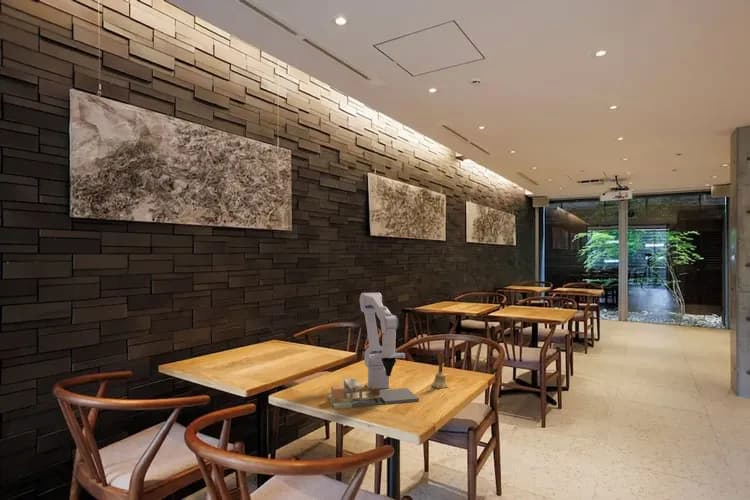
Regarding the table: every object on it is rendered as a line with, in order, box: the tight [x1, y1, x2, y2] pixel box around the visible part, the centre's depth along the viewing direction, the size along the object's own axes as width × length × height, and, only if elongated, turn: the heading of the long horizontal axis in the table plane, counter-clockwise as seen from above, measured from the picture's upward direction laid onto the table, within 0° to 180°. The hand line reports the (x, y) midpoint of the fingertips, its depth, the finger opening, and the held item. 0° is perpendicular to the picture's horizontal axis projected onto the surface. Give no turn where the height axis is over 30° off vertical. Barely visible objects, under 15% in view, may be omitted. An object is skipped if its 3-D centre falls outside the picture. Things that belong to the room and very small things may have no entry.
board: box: [327, 387, 420, 410], centre depth 180 cm, size 36×14×1 cm, turn 107°
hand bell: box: [430, 351, 450, 389], centre depth 200 cm, size 8×8×16 cm
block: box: [330, 384, 344, 399], centre depth 175 cm, size 4×4×4 cm
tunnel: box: [343, 378, 364, 403], centre depth 177 cm, size 5×12×6 cm, turn 17°
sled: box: [330, 385, 381, 402], centre depth 177 cm, size 20×7×4 cm, turn 107°
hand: (388, 375), depth 182 cm, fingers closed
